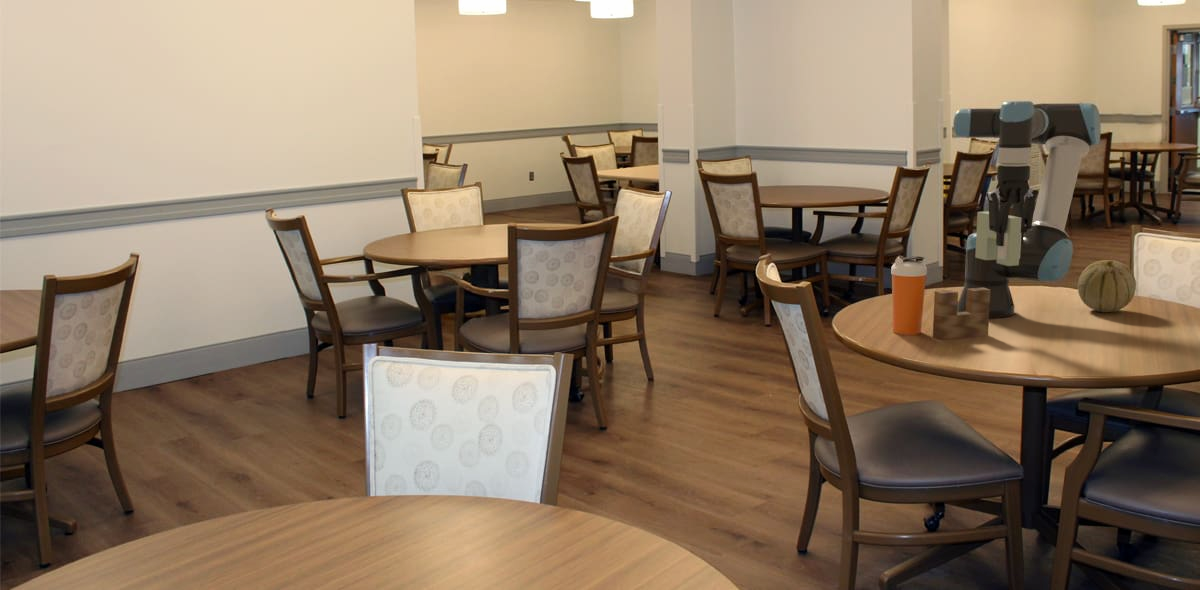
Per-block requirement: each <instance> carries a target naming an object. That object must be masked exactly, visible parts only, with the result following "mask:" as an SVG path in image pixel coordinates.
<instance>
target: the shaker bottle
mask: <svg viewBox="0 0 1200 590" xmlns="http://www.w3.org/2000/svg"><path fill="white" fill-rule="evenodd" d="M924 259H925V257H924V256H906V257H904V256H903V255H898V256H896V258H895V260H894V263H893V264H892V266H890V267H891V270H890V271H891V272H890V274H891V285H892V286H891V290H892V291H891V292H892V299H891V300H892V332H893V333H895V334H898V335H903V336H914V335H915V336H917V335H919V334H921V332H922V324H923V312H924V300H925V289H926V288H925V287H926V277H927V274H928V268H927V266H926V264H925V263H924V261H923V260H924Z"/></svg>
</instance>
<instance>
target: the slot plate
mask: <svg viewBox="0 0 1200 590" xmlns="http://www.w3.org/2000/svg"><path fill="white" fill-rule="evenodd" d="M976 215H977V216H976V232H977V234H976V254H975V257H976V258H980V259H983V260H996V259H997V263H999V264H1002V265H1006V266H1015V265H1019V252H1020V235H1021V217H1015V216H1014V215H1010V214H1009V216H1008V221H1007V227H1006V232H1005V233H1007V234H1008V248H1007V260H1003V259H999V258H998V246H997V245H996V232H994V231H992V230H990V229H989V210H987V211H977V214H976Z"/></svg>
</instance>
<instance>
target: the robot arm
mask: <svg viewBox="0 0 1200 590" xmlns="http://www.w3.org/2000/svg"><path fill="white" fill-rule="evenodd" d="M952 127H953V132H954V133H953V134H954V135H955V136H957V137H958V138H964V139H965V138H966V139H972V138H973V139H976V138H977V139H981V138H982V139H988V138H989V139H993V138H994V139H998V151H997V152H998V159H997V163H998V164H1000V165H997V170H996V172H997V174H996V179H997V185H996V188H995V189H994V190H992V191H987V192H986V193H985V194H986V198H987V200H988V212H989V229H990V230H992V231H994V232H996V245H997V246H998V258H999V259H1003V260H1007V248H1008V234H1007V233H1005V232H1006V227H1007V221H1008V216H1009V215H1010V211H1011V207H1013V216H1015V217H1021V235H1020V252H1019V265H1015V266H1006V265H1002V264H999V263H997V259H996V260H983V259H980V258H976V257H975V254H976V234H977V231H976V232H973V233H971V234H970V235H968V237H967V240H966V249H965V253H966V254H965V269H964V270H965V272H964V286H963V289H962V291H961V292H960V295H959V297H958V308H957V312H966V296H967V289H971V288H987V289H990V307H989V319H990V318H993V319H994V318H1007V317H1010V316H1011V317H1012V316H1014V314H1015V303H1014V300H1013V296H1012V293H1011V290H1010V279H1017V280H1026V281H1027V280H1028V281H1034V282H1035V281H1037V282H1041V283H1045V282H1051V283H1052V282H1053V283H1055V282H1059V281H1061V280H1062V279H1063V278H1064V277H1066V275H1067V273H1068V272H1069V269H1070V266H1071V263H1072V261H1073V252H1074V246H1073V242H1072V241H1071V240H1069V238H1070V237H1069V234H1068V233H1067V231H1065V230H1066V229H1065V228H1066V224H1067V220H1068V215H1069V212H1070V207H1071V205H1072V204H1071V203H1072V200H1073V196H1074V195H1073V194H1074V191H1075V188H1076V184H1077V178H1078V175H1079V169H1080V167H1081V163H1082V158H1083V157H1085V156H1087V155H1088V154H1089V153H1090V149H1091V146H1092V147H1094V146H1098V145H1099V143H1100V139H1101V132H1102V130H1101V128H1102V126H1101V115H1100V111H1099V108H1098V106H1097V105H1096V104H1094V103H1086V102H1085V103H1084V102H1078V103H1077V102H1076V103H1074V102H1073V103H1070V102H1069V103H1035V104H1034V103H1033V101H1031V100H1030V101H1029V100H1018V101H1017V100H1016V101H1015V100H1014V101H1013V100H1011V101H1003V102H1002V104H1001V107H999V108H970V107H969V108H960V109H959V110H957V111H956V112H955V114H954V118H953V125H952ZM1032 144H1033V145H1043V146H1044V147H1045V149H1046V150H1047V152H1048V155H1047V157H1046V158H1047V160H1046V162H1045V166H1044V171H1043V174H1042V179H1041V181H1040V182H1041V183H1040V186H1039V187H1040V188H1039V190H1038V189H1033V188H1031V187H1030V184H1029V180H1030V176H1031V175H1030V174H1031V166H1030V165H1029V164H1030V163H1031V162H1032Z"/></svg>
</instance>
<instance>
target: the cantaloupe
mask: <svg viewBox="0 0 1200 590" xmlns="http://www.w3.org/2000/svg"><path fill="white" fill-rule="evenodd" d="M1077 283H1078V284H1077V290H1078V295H1079V297H1080V300H1081V301H1082V302H1083V303H1084V304H1085V306H1086V307H1088V308H1089V309H1091V310H1094V311H1096V312H1101V313H1113V312H1118V311H1120V310H1122V309H1124V308H1125V307H1127V306H1129V304H1130V303H1131V302H1132V300H1133V298H1134V297H1135V293H1136V289H1137V280H1136V277H1135V275H1134V273H1133V272H1132V270H1131V269H1130V268H1129V267H1128V266H1127V265H1125V264H1124V263H1123V262H1121V261H1118V260H1114V259H1109V260H1108V259H1103V260H1097V261H1095V262H1092V263H1091V264H1089V265H1088V266H1087V267H1086V268H1085V269H1084V270H1083V271H1081V274H1080V276H1079V279H1078V282H1077Z"/></svg>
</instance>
